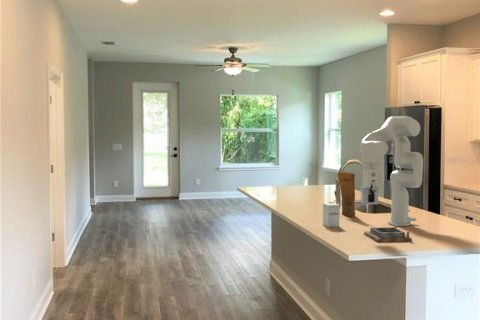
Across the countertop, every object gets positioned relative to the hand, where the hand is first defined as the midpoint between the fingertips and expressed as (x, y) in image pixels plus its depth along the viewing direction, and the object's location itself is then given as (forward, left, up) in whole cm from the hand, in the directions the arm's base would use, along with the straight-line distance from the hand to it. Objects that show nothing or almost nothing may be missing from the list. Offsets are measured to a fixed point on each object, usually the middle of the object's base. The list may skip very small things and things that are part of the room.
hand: (369, 200), depth 251 cm
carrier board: (-9, +3, -19) cm, 21 cm away
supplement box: (+11, -30, -19) cm, 37 cm away
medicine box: (0, 0, -2) cm, 2 cm away
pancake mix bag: (-9, -62, -19) cm, 66 cm away
